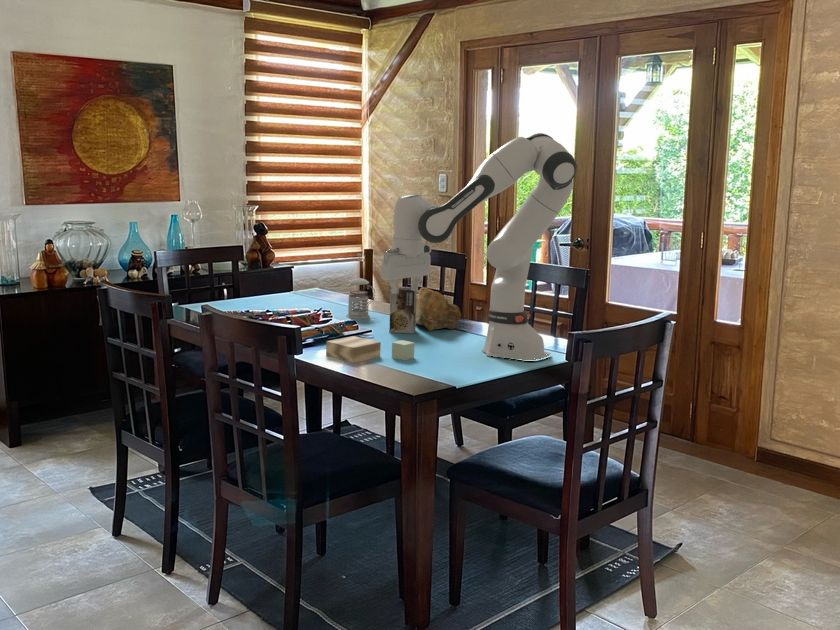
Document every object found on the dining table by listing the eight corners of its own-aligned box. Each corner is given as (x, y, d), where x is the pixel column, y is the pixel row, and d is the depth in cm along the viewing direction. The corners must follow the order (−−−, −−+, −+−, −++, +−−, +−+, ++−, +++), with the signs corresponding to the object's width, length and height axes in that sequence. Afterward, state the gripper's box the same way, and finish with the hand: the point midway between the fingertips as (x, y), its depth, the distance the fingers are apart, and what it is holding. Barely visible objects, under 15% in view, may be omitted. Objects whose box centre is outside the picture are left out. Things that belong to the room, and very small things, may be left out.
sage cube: (413, 358, 260) (414, 342, 259) (403, 360, 256) (404, 345, 255) (401, 355, 263) (402, 340, 262) (391, 357, 259) (392, 342, 258)
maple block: (380, 357, 260) (380, 342, 259) (353, 363, 251) (353, 347, 250) (353, 351, 267) (353, 335, 266) (326, 356, 258) (326, 341, 257)
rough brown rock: (464, 336, 299) (469, 295, 297) (419, 332, 296) (424, 291, 294) (452, 325, 322) (457, 288, 320) (410, 321, 319) (415, 283, 317)
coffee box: (415, 330, 302) (417, 287, 299) (413, 334, 296) (415, 289, 293) (391, 329, 303) (392, 285, 300) (388, 332, 296) (390, 288, 294)
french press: (342, 314, 327) (343, 252, 323) (369, 313, 332) (371, 251, 327) (350, 319, 318) (352, 254, 314) (378, 317, 323) (380, 254, 319)
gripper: (392, 250, 243) (390, 296, 246) (434, 246, 259) (432, 290, 262) (376, 248, 247) (375, 293, 249) (419, 244, 263) (417, 287, 265)
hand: (404, 292), depth 256 cm, fingers open, 8 cm apart
